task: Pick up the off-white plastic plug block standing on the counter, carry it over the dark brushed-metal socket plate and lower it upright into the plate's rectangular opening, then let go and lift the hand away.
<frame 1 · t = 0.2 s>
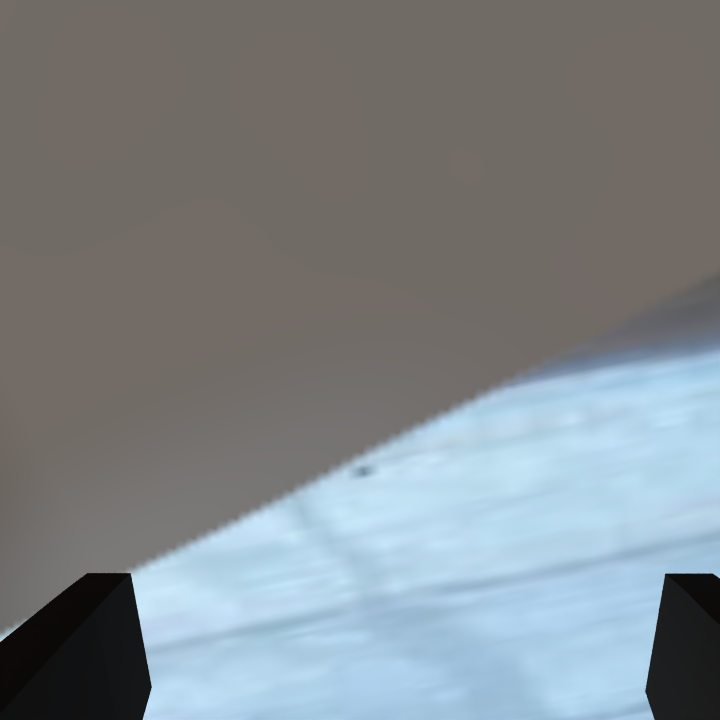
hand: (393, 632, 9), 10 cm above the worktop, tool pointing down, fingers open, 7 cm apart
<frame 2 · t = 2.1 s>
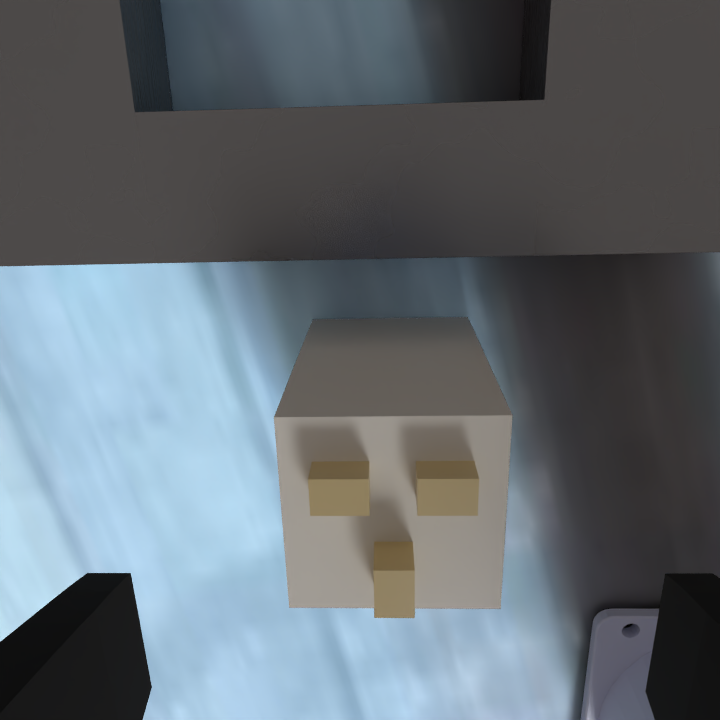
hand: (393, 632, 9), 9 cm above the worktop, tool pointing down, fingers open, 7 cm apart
plug: (390, 389, 17), on the worktop
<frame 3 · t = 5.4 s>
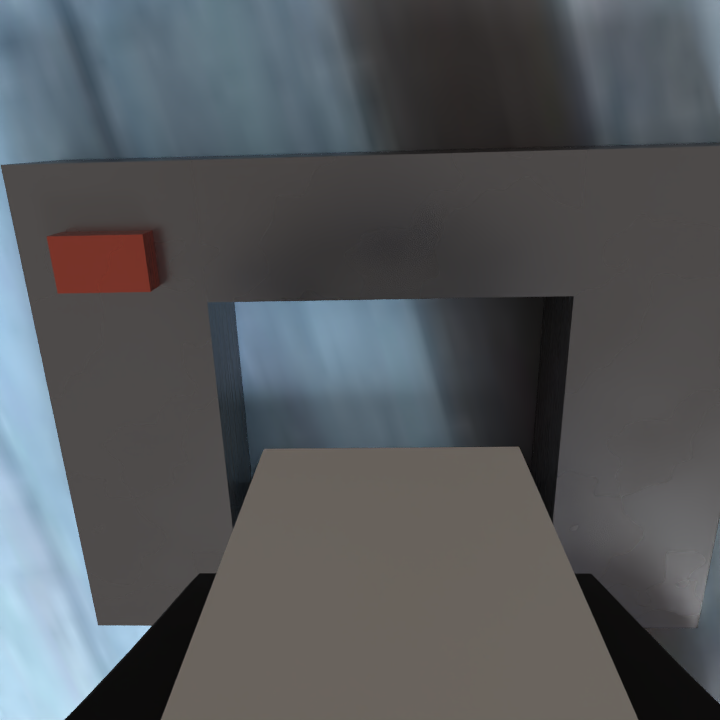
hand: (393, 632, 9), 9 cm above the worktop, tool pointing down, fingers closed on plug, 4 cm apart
socket plate: (388, 384, 17), on the worktop
plug: (391, 554, 10), point 7 cm above the worktop, touching gripper
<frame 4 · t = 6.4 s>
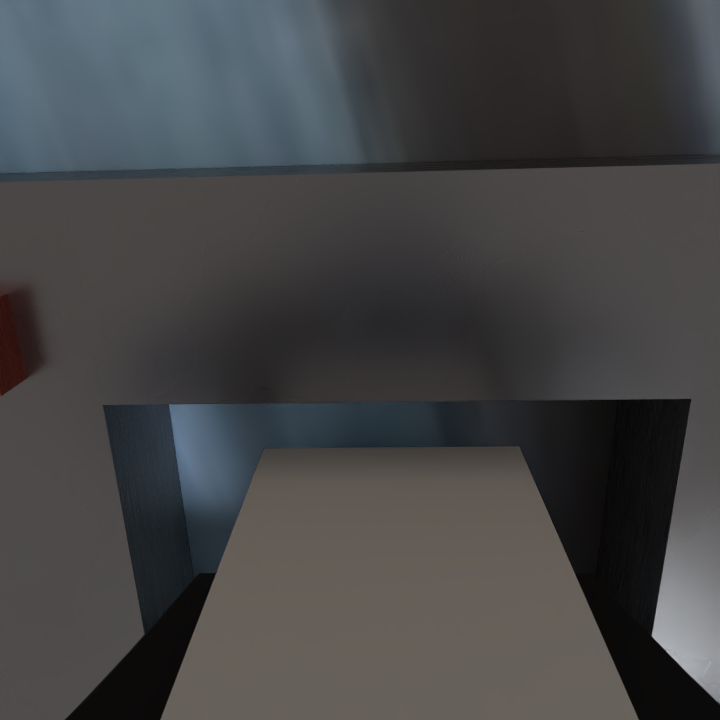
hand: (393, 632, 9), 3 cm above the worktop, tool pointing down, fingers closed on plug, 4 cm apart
socket plate: (391, 496, 12), on the worktop
plug: (391, 553, 10), point 1 cm above the worktop, touching gripper
when the fingers open (3 cm above the worktop, at t = 7.3 s): plug drops 1 cm, resting in socket plate.
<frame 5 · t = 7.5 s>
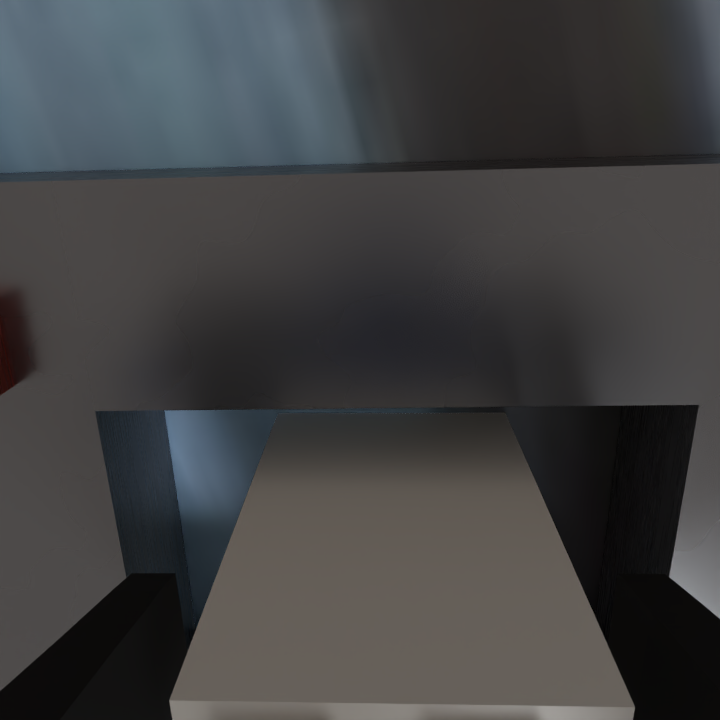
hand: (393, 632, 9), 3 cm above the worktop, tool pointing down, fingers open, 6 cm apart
socket plate: (390, 502, 12), on the worktop
plug: (390, 509, 12), resting in socket plate
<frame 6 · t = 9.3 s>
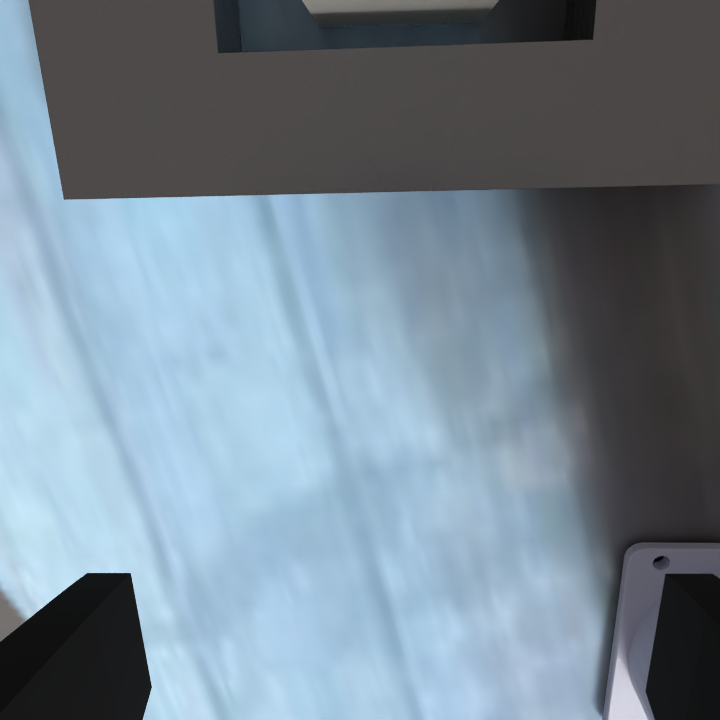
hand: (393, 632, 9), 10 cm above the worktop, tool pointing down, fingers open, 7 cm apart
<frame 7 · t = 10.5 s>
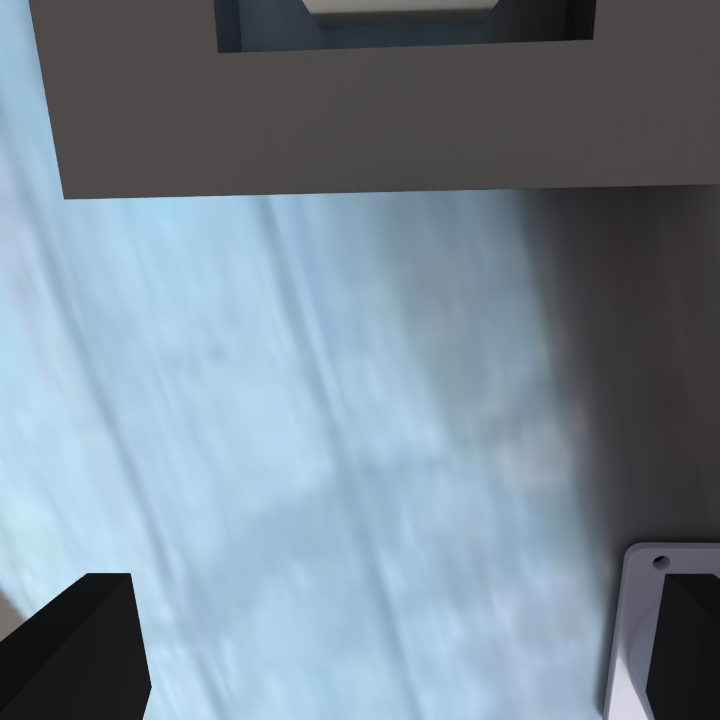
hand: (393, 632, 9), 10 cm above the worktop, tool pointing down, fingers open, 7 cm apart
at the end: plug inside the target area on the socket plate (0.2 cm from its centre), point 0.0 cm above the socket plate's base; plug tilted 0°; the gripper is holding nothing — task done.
